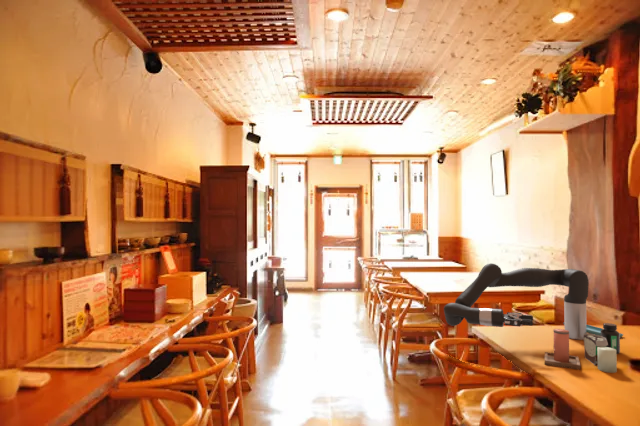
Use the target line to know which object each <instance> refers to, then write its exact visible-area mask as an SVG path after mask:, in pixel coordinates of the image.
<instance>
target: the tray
mask: <svg viewBox="0 0 640 426" xmlns="http://www.w3.org/2000/svg"><path fill="white" fill-rule="evenodd" d="M544 365H545V366H552V367H553V366H554V367H560V368H566V369H572V370H578V371H581V362H580V358H579V356H578V355H570V354H569V362H568V363H564V362H558V361H555V360H554V352H549V351H548V352H547V351H544Z"/></svg>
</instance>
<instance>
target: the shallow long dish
mask: <svg viewBox="0 0 640 426" xmlns="http://www.w3.org/2000/svg"><path fill="white" fill-rule="evenodd" d="M562 323H563V325H564V326H565V323H564V322H562ZM586 326H587V333H588V334H595V335H599V336H601V330H603V329H604V328H603V327H602V328H601V327H597V326H594V325H591V324H587V323H586ZM619 334H620V338H622V337H623V336H624V334H623V333H620V332H619Z"/></svg>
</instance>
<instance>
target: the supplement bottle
mask: <svg viewBox="0 0 640 426" xmlns="http://www.w3.org/2000/svg"><path fill="white" fill-rule="evenodd" d="M602 329H603V330H601V336H602V337H605V338H606V340H607V342H608V345H607V346H606V347H609V348H613V349H616V355H619V354H620V353H621V337H620V334H619V333H620V332H619V331H618V326H617V324H615V323H611V322H610V323H609V322H604V323H603V324H602Z"/></svg>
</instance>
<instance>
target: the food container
mask: <svg viewBox="0 0 640 426" xmlns="http://www.w3.org/2000/svg"><path fill="white" fill-rule="evenodd" d="M583 338H584V339H583V346H584V347H583V348H584V359H586V360H587V361H589V362H590V363H591V364H593V365H594V366H597V367H598V355H597V347H606V346H607V345H608V342H607V340H606V338H605V337H602V336H599V335H595V334H591V333H584V335H583Z"/></svg>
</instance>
